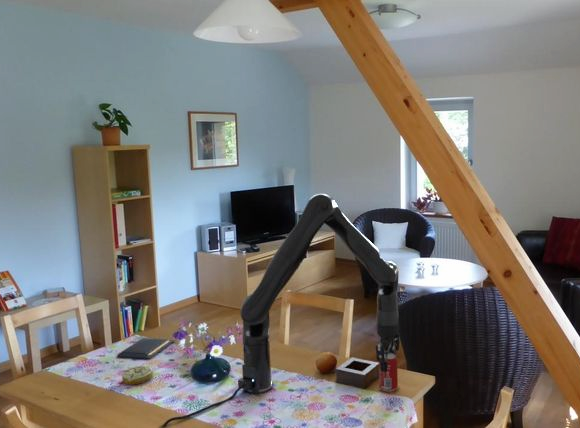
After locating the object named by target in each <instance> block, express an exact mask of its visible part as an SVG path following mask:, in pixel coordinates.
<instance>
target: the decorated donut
mask: <svg viewBox="0 0 580 428" xmlns="http://www.w3.org/2000/svg"><path fill="white" fill-rule="evenodd" d="M153 375H154V369H153V368H152V367H151V366H150V365H144V364H142V365H135V366H132V367H129V368H128V369H126V370H125V371H123V373H122V374H121V378H122V382H123V383H124V384H125V385H137V384H142V383H145V382H147V381H149V380H151V378H152V377H153Z"/></svg>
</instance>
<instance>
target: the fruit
mask: <svg viewBox="0 0 580 428" xmlns="http://www.w3.org/2000/svg"><path fill="white" fill-rule="evenodd" d="M337 364H338V358H337V356H336V355H335V354H334V353H333V352H331V351H325V352H322V353H321V354H320V355H318V356H317V358H316V360H315V365H316V369H317V370H318V371H319V372H320V373H323V374H330V373H335V371H336V368H337Z"/></svg>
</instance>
